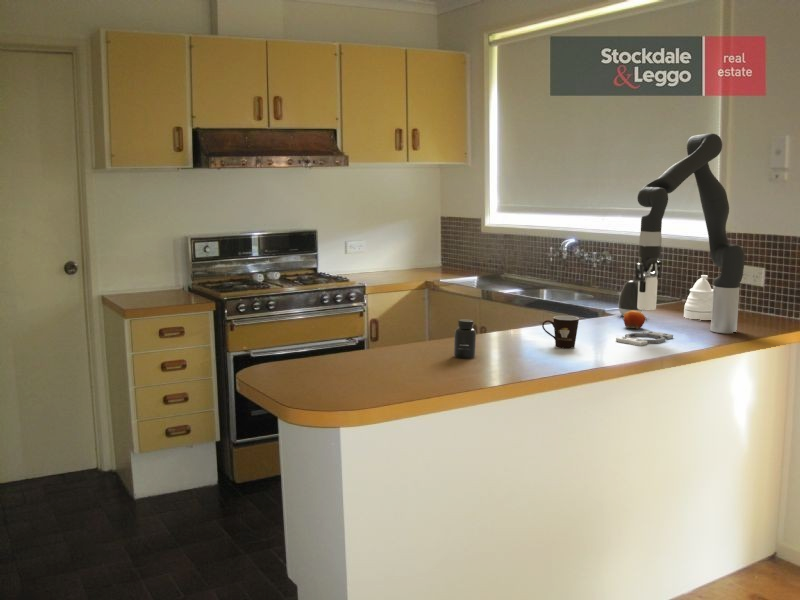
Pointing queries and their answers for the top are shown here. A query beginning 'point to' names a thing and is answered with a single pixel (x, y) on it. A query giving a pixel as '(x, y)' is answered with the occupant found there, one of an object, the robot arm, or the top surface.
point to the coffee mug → (564, 331)
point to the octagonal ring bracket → (641, 342)
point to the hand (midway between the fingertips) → (647, 291)
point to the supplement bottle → (465, 340)
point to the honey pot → (699, 300)
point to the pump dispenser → (628, 297)
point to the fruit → (634, 319)
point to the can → (648, 295)
